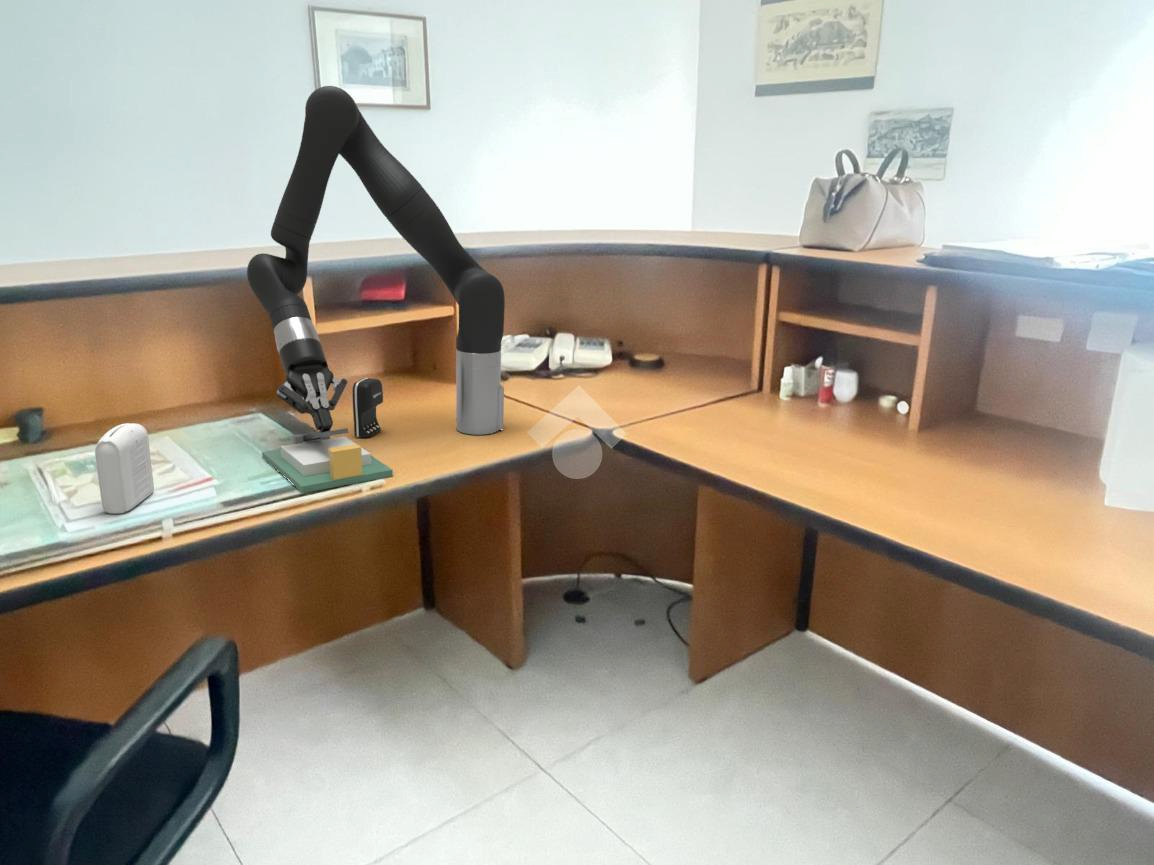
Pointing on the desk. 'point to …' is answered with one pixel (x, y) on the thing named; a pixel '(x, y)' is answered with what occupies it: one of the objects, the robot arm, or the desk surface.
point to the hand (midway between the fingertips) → (326, 430)
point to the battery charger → (366, 406)
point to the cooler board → (324, 477)
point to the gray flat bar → (322, 434)
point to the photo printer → (124, 467)
